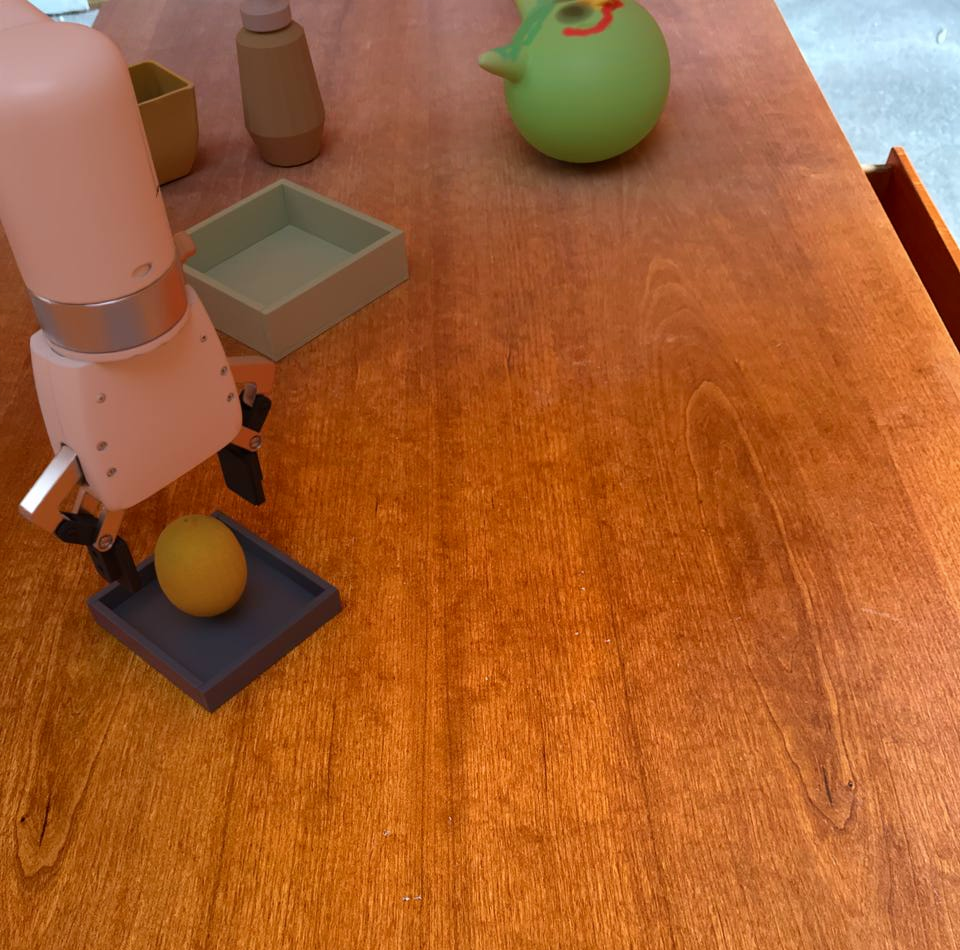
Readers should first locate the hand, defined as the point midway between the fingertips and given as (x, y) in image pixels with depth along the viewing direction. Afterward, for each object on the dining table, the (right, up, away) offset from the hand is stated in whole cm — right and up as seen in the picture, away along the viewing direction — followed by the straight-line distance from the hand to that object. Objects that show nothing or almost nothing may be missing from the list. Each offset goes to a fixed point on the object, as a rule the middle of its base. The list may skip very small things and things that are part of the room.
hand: (186, 536), depth 73 cm
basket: (+1, +25, +31) cm, 39 cm away
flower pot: (-14, +40, +46) cm, 63 cm away
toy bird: (+28, +42, +45) cm, 68 cm away
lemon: (+1, -5, +5) cm, 7 cm away
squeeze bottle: (-1, +43, +47) cm, 64 cm away
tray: (+1, -5, +5) cm, 7 cm away
